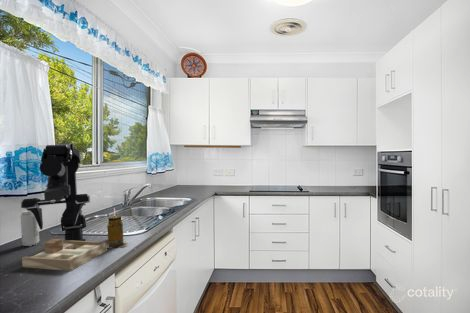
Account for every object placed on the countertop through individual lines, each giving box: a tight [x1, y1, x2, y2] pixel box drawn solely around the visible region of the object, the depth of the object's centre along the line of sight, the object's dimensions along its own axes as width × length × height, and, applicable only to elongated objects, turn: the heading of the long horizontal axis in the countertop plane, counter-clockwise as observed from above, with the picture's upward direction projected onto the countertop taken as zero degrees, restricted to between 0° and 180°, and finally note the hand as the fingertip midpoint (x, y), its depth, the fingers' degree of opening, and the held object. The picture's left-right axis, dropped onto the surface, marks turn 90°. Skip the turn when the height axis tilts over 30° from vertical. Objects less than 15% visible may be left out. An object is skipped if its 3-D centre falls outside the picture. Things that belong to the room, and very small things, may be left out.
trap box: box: [21, 239, 108, 272], centre depth 101 cm, size 18×20×4 cm
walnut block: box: [43, 238, 63, 253], centre depth 102 cm, size 4×4×4 cm
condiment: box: [106, 215, 131, 249], centre depth 114 cm, size 7×8×12 cm
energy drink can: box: [20, 209, 40, 247], centre depth 118 cm, size 6×6×15 cm
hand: (58, 227), depth 89 cm, fingers open, 9 cm apart
